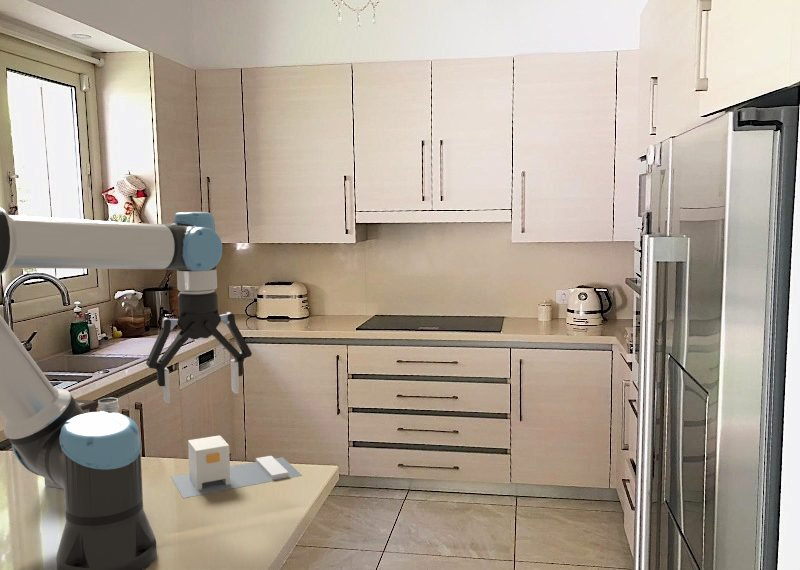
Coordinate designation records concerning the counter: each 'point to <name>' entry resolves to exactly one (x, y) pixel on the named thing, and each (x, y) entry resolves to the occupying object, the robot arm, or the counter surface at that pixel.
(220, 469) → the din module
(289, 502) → the counter surface
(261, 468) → the panel
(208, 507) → the counter surface
